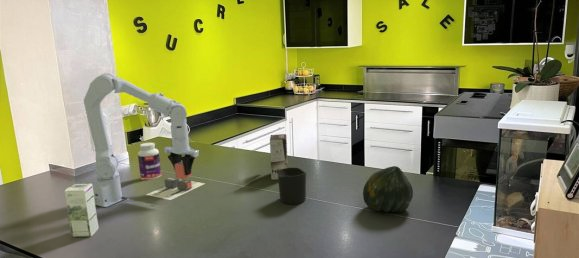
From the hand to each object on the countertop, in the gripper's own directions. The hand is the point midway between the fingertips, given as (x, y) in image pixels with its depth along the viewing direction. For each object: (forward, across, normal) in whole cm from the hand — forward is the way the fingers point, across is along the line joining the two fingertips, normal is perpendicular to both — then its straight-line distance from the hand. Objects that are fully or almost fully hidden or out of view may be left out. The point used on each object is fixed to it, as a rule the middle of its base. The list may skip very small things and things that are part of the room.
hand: (183, 173), depth 156 cm
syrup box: (+7, +3, +39) cm, 39 cm away
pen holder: (+7, -40, -9) cm, 42 cm away
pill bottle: (+7, +23, -5) cm, 25 cm away
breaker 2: (+6, -1, +1) cm, 6 cm away
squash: (+7, -71, -15) cm, 73 cm away
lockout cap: (+1, 0, 0) cm, 1 cm away
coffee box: (+7, -23, -29) cm, 38 cm away
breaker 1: (+5, +6, +1) cm, 8 cm away
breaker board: (+7, +2, +2) cm, 7 cm away
